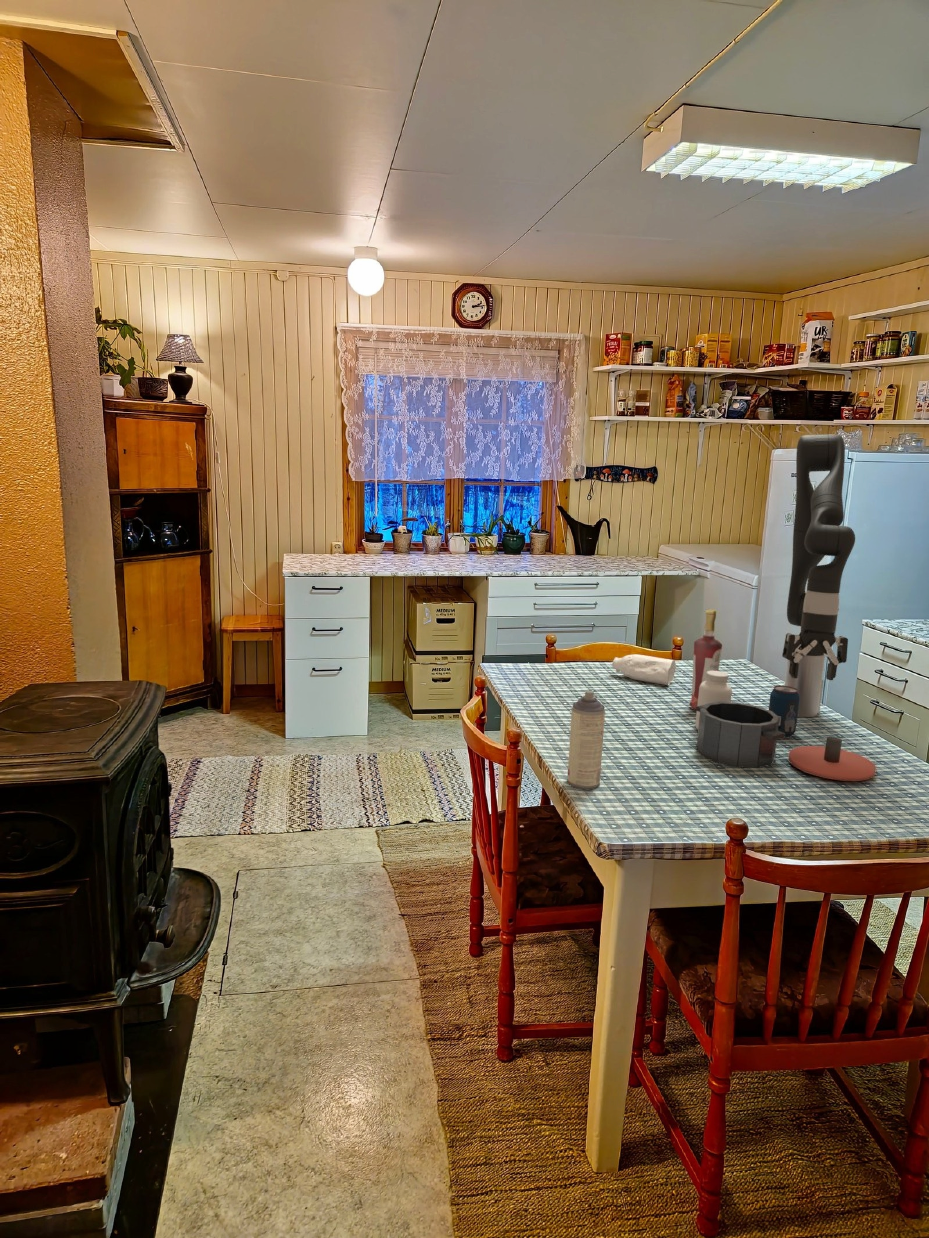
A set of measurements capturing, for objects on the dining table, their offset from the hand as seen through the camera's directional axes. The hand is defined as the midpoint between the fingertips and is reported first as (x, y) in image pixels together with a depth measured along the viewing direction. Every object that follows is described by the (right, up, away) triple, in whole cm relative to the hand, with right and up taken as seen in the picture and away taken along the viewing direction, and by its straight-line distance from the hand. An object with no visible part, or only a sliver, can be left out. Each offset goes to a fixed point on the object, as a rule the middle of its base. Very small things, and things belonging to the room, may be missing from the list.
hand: (811, 678), depth 191 cm
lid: (+1, -20, -8) cm, 21 cm away
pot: (-18, -18, -1) cm, 25 cm away
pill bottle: (-19, -14, +16) cm, 29 cm away
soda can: (-2, -15, +14) cm, 21 cm away
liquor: (-17, -11, +32) cm, 38 cm away
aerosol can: (-57, -21, -21) cm, 64 cm away
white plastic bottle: (-27, -5, +59) cm, 65 cm away
